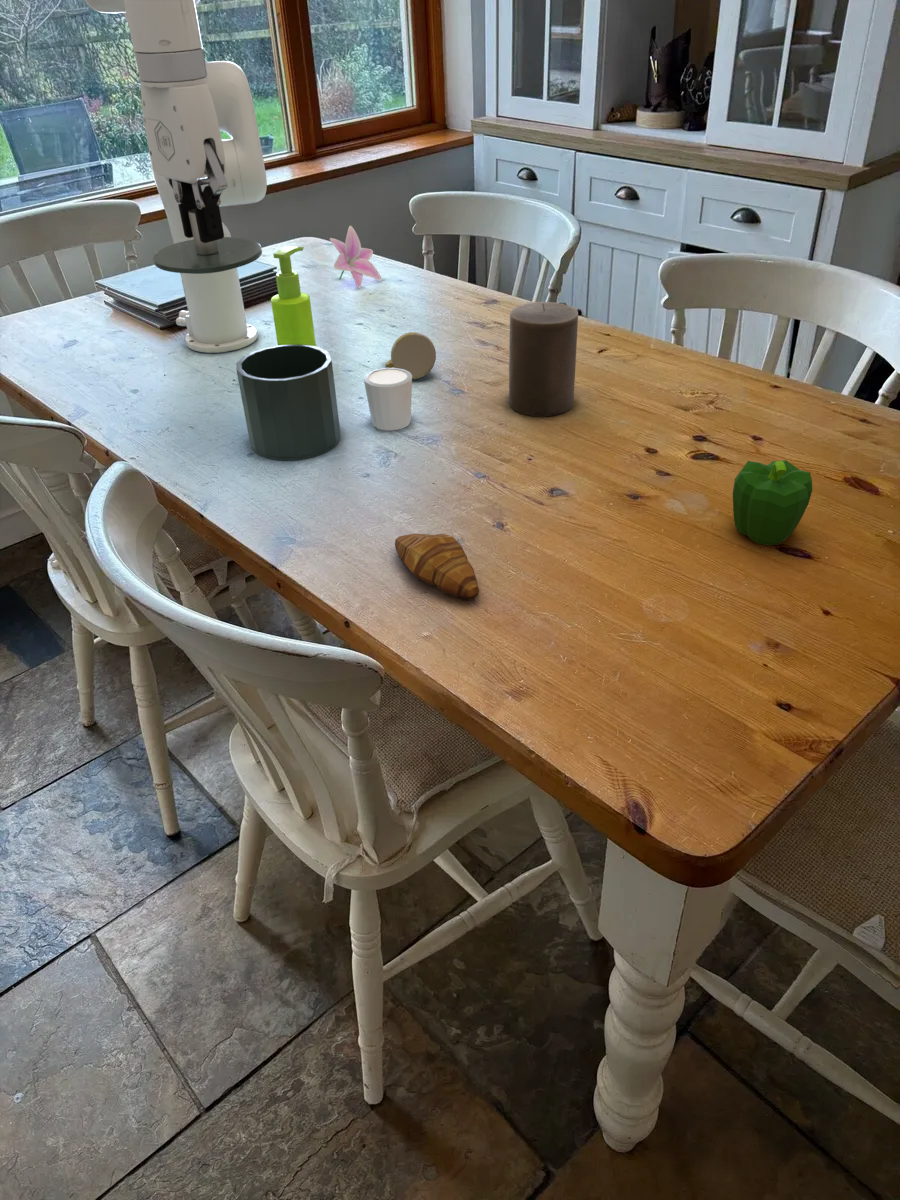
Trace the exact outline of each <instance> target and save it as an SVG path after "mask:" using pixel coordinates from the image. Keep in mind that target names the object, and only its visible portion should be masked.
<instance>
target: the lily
mask: <svg viewBox="0 0 900 1200" xmlns="http://www.w3.org/2000/svg"><path fill="white" fill-rule="evenodd" d="M329 241H330V243H332V245H333V246H334V248H335V249H336V250H337V252H338V253H339V255H338V256H337V258H336V260H335V262H334V263H333V268H334V269H335V270H339V271H341V273H340V276H339V278H338V279H339V280H341V279H342V277H343V275H344V272H350V274H351V276H352V279H353V281H354V283H355V285H356V287H357V289H360V288H361V287H362V283H363V280H364V279H363V278H364V276H366V277H369V278H372V279H374V280H377V281H379V282H380V281H381V282H382V281H383V279H382V275H380V272H379V271H378V269H377V268H376V266H375V265H374V264H373V263H372V262H371V261H370V260H371V258H372V256H373V254H374V250H373V249H371V248H366V247H362V244H361V241H360V238H359V236H358V234H357V232H356V230H355V229H354V228H353V226H352V225H349V227H348V228H347V232H346V236H345V240H344V241H345V242H343V241H342V240H339V239H337V238H333V237H329ZM363 275H364V276H363Z"/></svg>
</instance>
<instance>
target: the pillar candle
mask: <svg viewBox="0 0 900 1200" xmlns="http://www.w3.org/2000/svg"><path fill="white" fill-rule="evenodd" d="M578 327H579V311H578V308H576V307H575V306H572V305H568V304H565V303H561V302H553V301H551V302H550V301H530V302H526V303H523V304H520V305H517V306H515V307H513V308H512V309H511V310H510V311H509V345H508V346H509V347H508V348H509V350H508V351H509V355H508V404H509V406H510V408H511V409H512V410H514V411H515V412H517V413H520V414H522V415H528V416H531V417H538V418H543V417H552V416H557V415H560V414H564V413H566V412H568V411H569V410H571V409H572V408H573V406H574V401H575V381H576V367H577V366H576V364H577V363H576V361H577V345H578V344H577V343H578Z"/></svg>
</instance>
